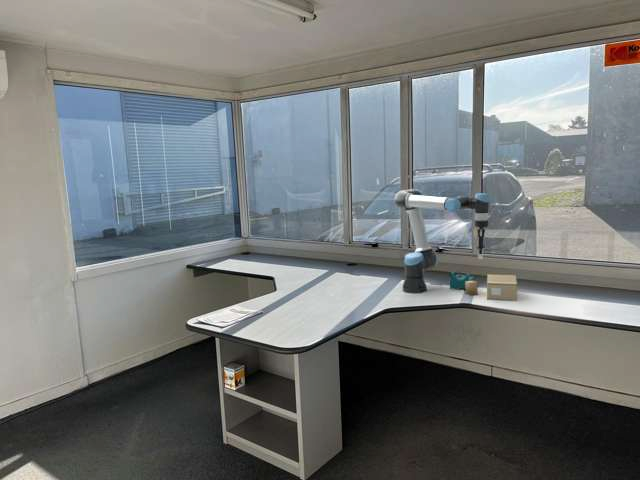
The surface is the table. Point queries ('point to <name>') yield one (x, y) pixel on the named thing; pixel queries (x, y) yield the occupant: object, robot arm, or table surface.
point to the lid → (502, 279)
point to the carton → (502, 292)
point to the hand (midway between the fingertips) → (480, 258)
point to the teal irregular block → (459, 280)
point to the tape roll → (471, 287)
